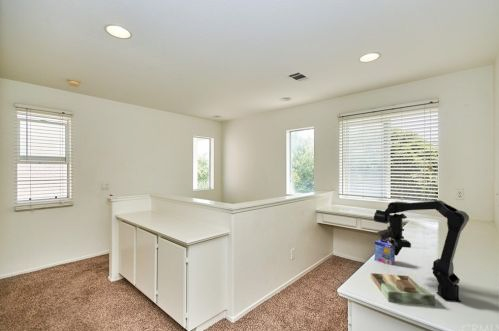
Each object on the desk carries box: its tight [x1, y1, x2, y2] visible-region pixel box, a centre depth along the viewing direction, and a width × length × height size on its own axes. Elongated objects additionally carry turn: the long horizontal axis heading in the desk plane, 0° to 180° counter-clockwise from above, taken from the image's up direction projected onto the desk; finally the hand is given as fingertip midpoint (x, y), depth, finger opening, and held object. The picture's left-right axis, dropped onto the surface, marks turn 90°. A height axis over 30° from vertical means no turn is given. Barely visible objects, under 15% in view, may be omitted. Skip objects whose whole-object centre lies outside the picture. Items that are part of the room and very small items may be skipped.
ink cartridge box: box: [374, 238, 396, 266], centre depth 144 cm, size 10×6×14 cm, turn 40°
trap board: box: [370, 272, 436, 307], centre depth 110 cm, size 18×22×4 cm
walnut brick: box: [396, 279, 415, 293], centre depth 104 cm, size 4×7×4 cm, turn 171°
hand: (395, 255), depth 123 cm, fingers closed
